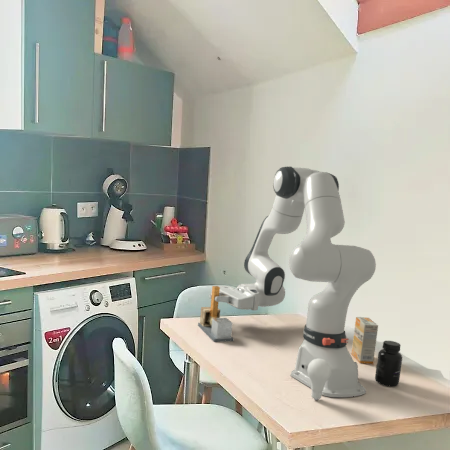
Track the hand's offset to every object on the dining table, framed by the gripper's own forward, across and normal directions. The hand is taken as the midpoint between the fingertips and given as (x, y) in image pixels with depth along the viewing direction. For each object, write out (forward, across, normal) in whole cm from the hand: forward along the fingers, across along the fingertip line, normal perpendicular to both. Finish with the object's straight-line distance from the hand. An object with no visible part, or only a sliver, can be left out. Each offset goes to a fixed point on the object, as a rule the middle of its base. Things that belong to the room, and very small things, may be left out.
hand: (212, 297), depth 186 cm
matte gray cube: (+1, +9, +11) cm, 14 cm away
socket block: (-2, -3, +11) cm, 12 cm away
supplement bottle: (-28, +56, +12) cm, 64 cm away
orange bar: (-1, +2, +10) cm, 10 cm away
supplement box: (-35, +40, +12) cm, 54 cm away
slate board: (0, +3, +12) cm, 12 cm away
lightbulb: (+1, +58, +12) cm, 60 cm away
